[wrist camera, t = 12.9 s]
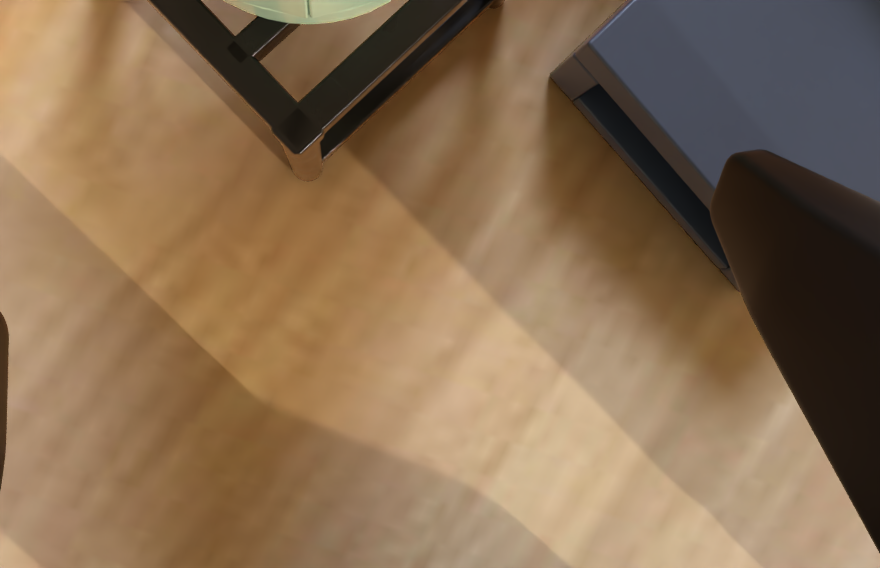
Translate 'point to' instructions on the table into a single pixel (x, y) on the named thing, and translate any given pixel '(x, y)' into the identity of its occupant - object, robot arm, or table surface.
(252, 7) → the tumbler
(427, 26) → the rack
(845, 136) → the shelf
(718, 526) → the table surface
